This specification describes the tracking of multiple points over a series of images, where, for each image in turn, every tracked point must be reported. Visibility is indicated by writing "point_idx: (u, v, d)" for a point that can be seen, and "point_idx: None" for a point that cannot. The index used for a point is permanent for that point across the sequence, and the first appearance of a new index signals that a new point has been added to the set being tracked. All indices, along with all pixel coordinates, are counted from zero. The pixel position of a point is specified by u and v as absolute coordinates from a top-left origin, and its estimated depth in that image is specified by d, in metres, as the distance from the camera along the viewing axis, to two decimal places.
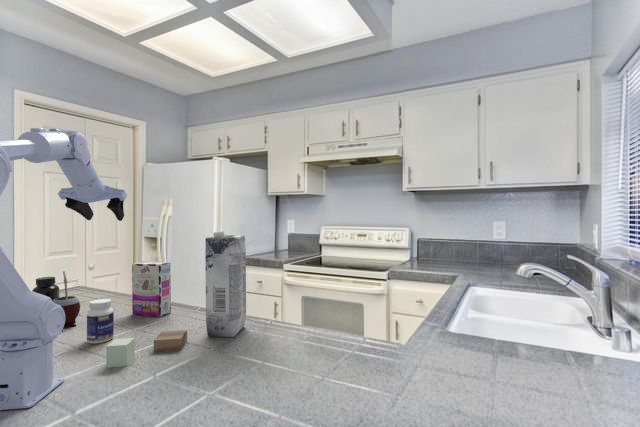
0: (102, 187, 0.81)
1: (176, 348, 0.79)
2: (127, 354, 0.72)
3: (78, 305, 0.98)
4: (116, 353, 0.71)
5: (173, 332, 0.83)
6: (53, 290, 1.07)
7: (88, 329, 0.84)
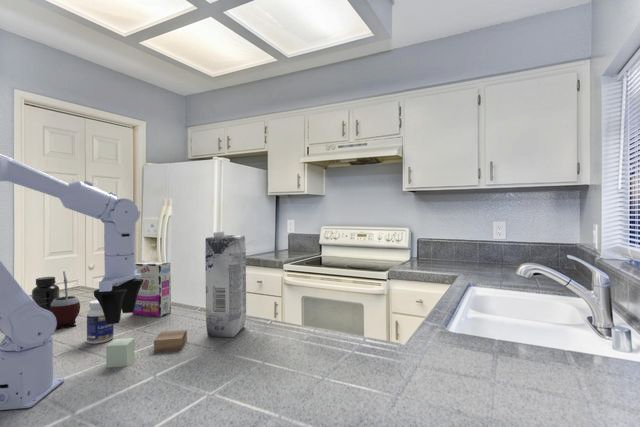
0: (116, 271, 0.70)
1: (176, 348, 0.79)
2: (127, 354, 0.72)
3: (78, 305, 0.98)
4: (116, 353, 0.71)
5: (173, 332, 0.83)
6: (54, 290, 1.07)
7: (88, 329, 0.84)
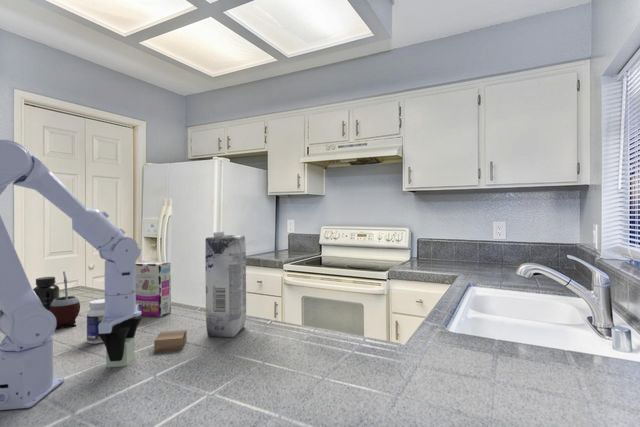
0: (116, 311, 0.70)
1: (177, 348, 0.80)
2: (127, 354, 0.72)
3: (78, 305, 0.98)
4: None
5: (172, 332, 0.83)
6: (53, 290, 1.07)
7: (88, 329, 0.84)
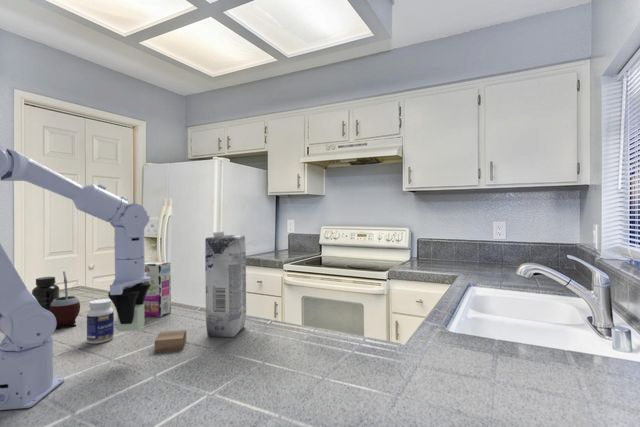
0: (126, 275, 0.72)
1: (177, 348, 0.80)
2: (138, 318, 0.73)
3: (78, 305, 0.98)
4: None
5: (172, 332, 0.83)
6: (53, 290, 1.07)
7: (88, 329, 0.84)
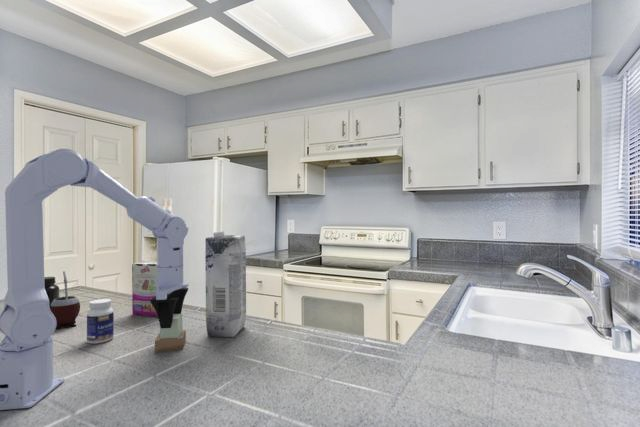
0: (168, 281, 0.79)
1: (178, 348, 0.80)
2: (178, 327, 0.80)
3: (78, 305, 0.98)
4: None
5: None
6: (53, 290, 1.07)
7: (88, 329, 0.84)
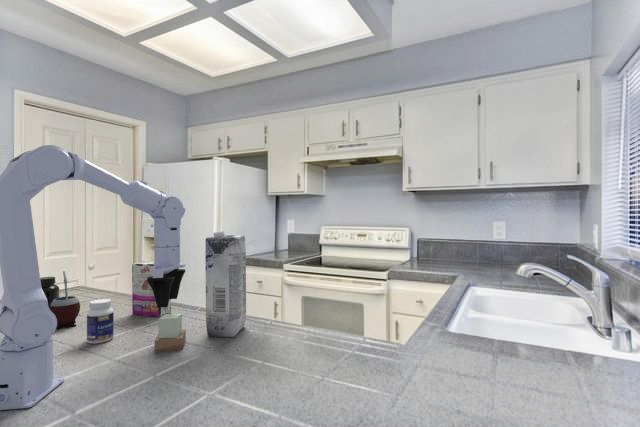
0: (165, 261, 0.79)
1: (177, 348, 0.80)
2: (177, 327, 0.81)
3: (78, 305, 0.98)
4: (167, 326, 0.80)
5: None
6: (53, 290, 1.07)
7: (88, 329, 0.84)
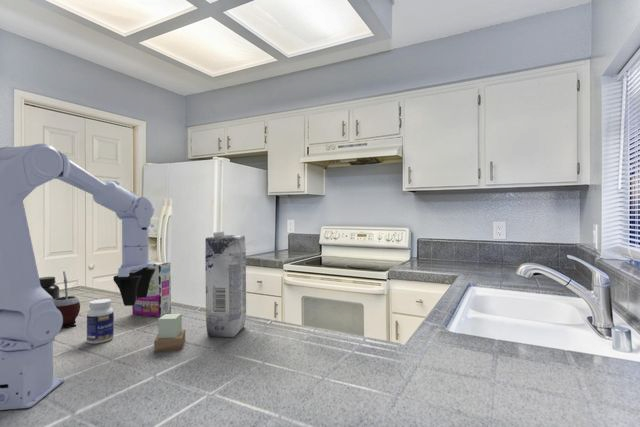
0: (132, 260, 0.81)
1: (177, 348, 0.80)
2: (176, 327, 0.81)
3: (78, 305, 0.98)
4: (166, 326, 0.80)
5: None
6: (53, 290, 1.07)
7: (88, 329, 0.84)
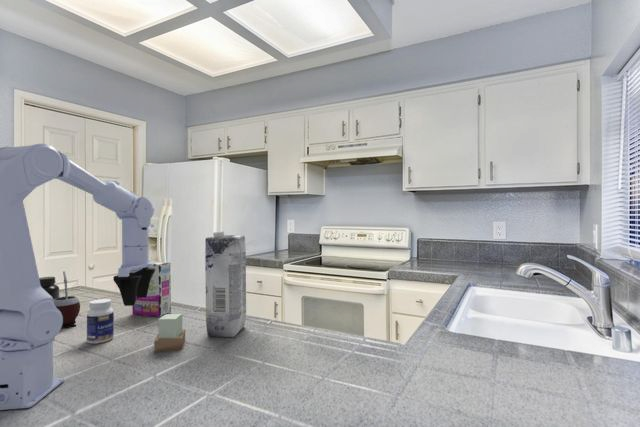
0: (132, 260, 0.81)
1: (177, 348, 0.80)
2: (176, 327, 0.80)
3: (78, 305, 0.98)
4: (167, 326, 0.80)
5: None
6: (53, 290, 1.07)
7: (88, 329, 0.84)
